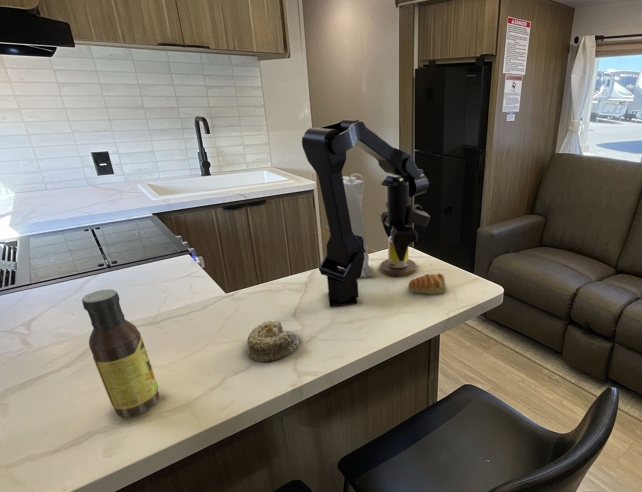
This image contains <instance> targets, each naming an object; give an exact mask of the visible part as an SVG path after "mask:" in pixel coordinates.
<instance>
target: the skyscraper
mask: <svg viewBox="0 0 642 492" xmlns="http://www.w3.org/2000/svg"><path fill="white" fill-rule="evenodd" d="M355 176H358V177H360V178H361V180H360V179H357V177H355ZM342 177H343V182H344V188H345V193H346V199H347V205H348V210H349V216H350V222H351V227H352V232H353V233H354V235H357V236H361V237H362V238H363V240H364V249H365V251H366V252H365V253H364V263H363V268H362V273H361V277H360V278H358V279H357V280H359V279H360V280H361V279H369V278H373V277H374V275H373V273H372V270H371V268H370V266H369V262H370V261H369V258H370V257H369V253H368V251H369V250H368V247H369V246H368V240H367V231H366V223H365V218H364V212H363V209H362V205H363V199H364V191H365V186H366V185H365V184H366V180H365V178H364V176H363V175H362V174H361V173H357V172H356V173H352V174H350V175H349V176H347V175H346V176H343V175H342ZM345 270H346V269H345Z"/></svg>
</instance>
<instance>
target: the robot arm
mask: <svg viewBox="0 0 642 492" xmlns="http://www.w3.org/2000/svg"><path fill="white" fill-rule="evenodd" d="M301 146H302V149H303V152H304V155H305V157H306V160H307V162H308V163H309V165H310V166H311V168H312V169H313V170H314V171H315V173H316V174H317V177H318V182H319V187H320V192H321V197H322V201H323V206H324V212H325V216H326V220H327V225H328V230H329V234H330V235H329V237H328V240H327V242H326V254H325V256H324V258H323V260H322V261H321V263H320V265H319V266H318V271H319V272H320V275H322V276H326V279H327V280H326V281H327V289H328V291H327V298H328V305H329V307H338V306H339V307H340V306H347V305H348V306H349V305H355V304H358V298H359V282H358V280H359V279H358V278H360V277H361V273H362V268H363V263H364V253H365V252H366V251H365V249H364V240H363V238H362V237H361V236H357V235H354V233H353V232H352V227H351V222H350V216H349V210H348V205H347V199H346V193H345V188H344V182H343V180H344V178H343V169H344V166H345V164H346V161H347V151H349V150H351V149H352V148H354V147H355V146H357V147H359V148H360V149H361V150H363V152H365V153H367V154H368V155H370V156H371V157H373V158H374V159H375V160H376V161H377V162H378V163H377V164H378V166H379V167H380V168H381V170H382V171H384V173H386V174H390V175H387V176H386V177H385V178H384V180H382V182H381V186H384V187H386V202H385V207H386V209H387V210H386V211H383V212H382V213H381V214H380V222H381V224H382V227H383V229H384V232H385V234H386V236H387V239H388V238H389V237H390V236H391V237H392V238H391V241H392V243H393V246H394V248H395V251H396V253H397V256H398V258H399V261H404V258H405V254H406V251H407V248H408V249H409V245H410V244H412V243H416V242H418V241H419V240H418V239H419V234H418V232H417V231H416V230H415V229H414V227H412V226H413V224H415V225H418V226H421V227H422V228H427V226H428V224H429V222H430V219H431V215H429V214H428V212H426V211H424V210H423V207H422V206H421V205H419V204H415V205H413V206H411V205H410V198H413V197H415V196H419V195H422V194H425V193H426V192H428V190H429V187H430V182H429V180H428V177H427V176H426V175H425V174H424V169H422V168H418V167H417V165H416V163H415V161H414V156H413V155H412V153H410V152H408V151H405V150H403V149H400V148H396V147H394V146H392V145H390V144H389V143H388V142H387V141H385V140H384V139H383V138H382V137H380V136H379V135H378V134H377V133H375V132H374V131H373V130H371V129H370V128H369V127H368V126H367V125H366V124H365V123H364V121H362V120H360V119H354V118H343V119H341V120H339V121H337V122H334V123H331V124H326V125H322V126H319V127H316V126H315V127H314V126H313V127H310V128H307V130H306V131H305V132H304V134H303V136H302V137H301ZM391 175H392V176H391ZM392 229H393V230H392ZM391 230H392V231H391ZM345 269H346V270H345ZM360 279H361V278H360Z"/></svg>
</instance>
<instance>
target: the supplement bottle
mask: <svg viewBox="0 0 642 492" xmlns="http://www.w3.org/2000/svg"><path fill="white" fill-rule="evenodd" d="M392 230H393V229H392ZM392 230H391V231H392ZM391 238H392V237H391V236H390V237H389V238H388V237H387V251H388V252H387V253H388V255H387V256H388V257H387V258H388V263H389V265H390V266H391V267H393V268H403V267H406V266H407V265H408V259H409V247H408V248H407V251H406V254H405V258H404V261H399V258H398V256H397V253H396V251H395V248H394V246H393V243H392V241H391Z"/></svg>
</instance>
